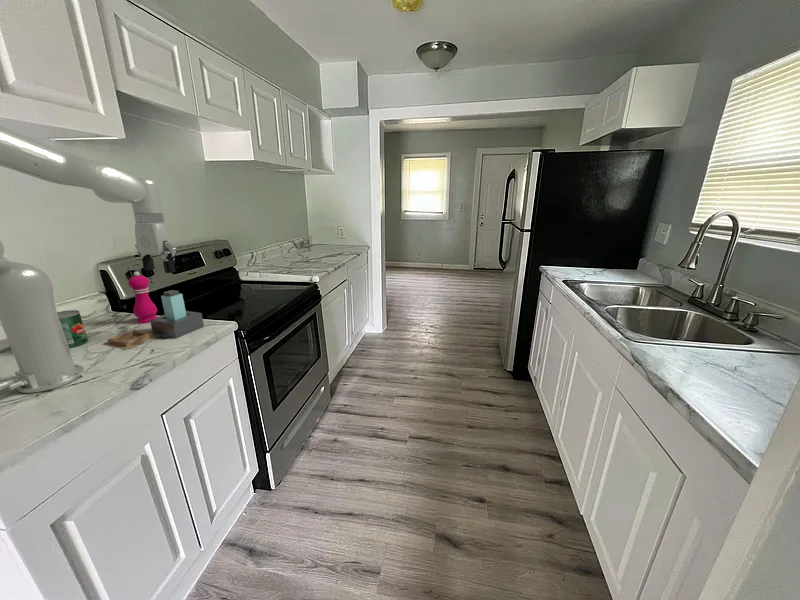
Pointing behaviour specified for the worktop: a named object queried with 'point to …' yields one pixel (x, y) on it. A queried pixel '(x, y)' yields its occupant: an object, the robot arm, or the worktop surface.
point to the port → (177, 325)
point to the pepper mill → (142, 299)
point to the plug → (173, 305)
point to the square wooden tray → (129, 339)
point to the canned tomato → (72, 328)
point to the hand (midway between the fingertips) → (159, 271)
